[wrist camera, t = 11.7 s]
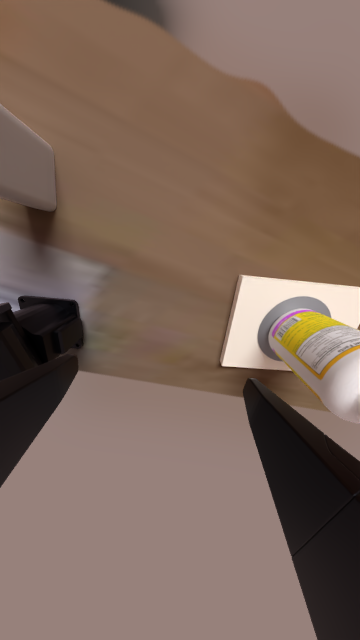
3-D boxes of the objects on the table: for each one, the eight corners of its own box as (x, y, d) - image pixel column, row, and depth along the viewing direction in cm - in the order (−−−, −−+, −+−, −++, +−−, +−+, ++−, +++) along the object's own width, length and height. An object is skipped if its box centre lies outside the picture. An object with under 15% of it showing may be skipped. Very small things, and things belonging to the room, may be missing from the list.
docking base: (219, 360, 24) (222, 366, 23) (239, 274, 20) (243, 276, 19) (325, 368, 25) (333, 374, 24) (367, 287, 21) (379, 290, 20)
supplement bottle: (316, 350, 22) (471, 464, 11) (265, 357, 23) (360, 476, 11) (324, 302, 20) (543, 380, 8) (267, 310, 20) (394, 398, 8)
